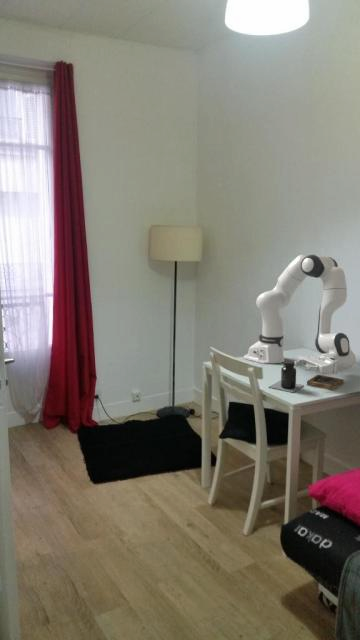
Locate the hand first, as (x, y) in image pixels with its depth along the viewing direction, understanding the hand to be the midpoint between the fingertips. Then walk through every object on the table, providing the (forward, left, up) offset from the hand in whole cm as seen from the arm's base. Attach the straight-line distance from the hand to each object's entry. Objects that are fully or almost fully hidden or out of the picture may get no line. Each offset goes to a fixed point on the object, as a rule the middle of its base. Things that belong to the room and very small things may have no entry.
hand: (301, 365), depth 250 cm
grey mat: (-4, -7, -9) cm, 12 cm away
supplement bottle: (-2, -8, -9) cm, 12 cm away
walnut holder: (+9, +8, -9) cm, 15 cm away
